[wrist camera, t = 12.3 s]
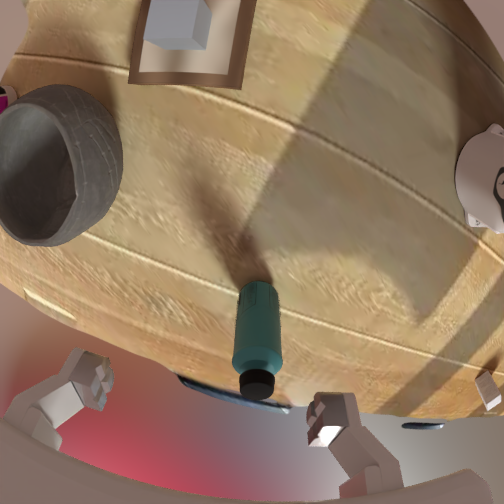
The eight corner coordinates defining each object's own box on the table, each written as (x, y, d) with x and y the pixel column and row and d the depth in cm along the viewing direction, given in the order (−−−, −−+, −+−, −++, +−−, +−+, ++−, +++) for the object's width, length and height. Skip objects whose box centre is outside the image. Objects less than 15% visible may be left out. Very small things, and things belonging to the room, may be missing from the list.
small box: (489, 378, 63) (501, 401, 54) (476, 388, 65) (487, 411, 56) (488, 369, 60) (501, 393, 51) (474, 379, 62) (486, 404, 53)
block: (212, 14, 25) (200, -6, 19) (205, 50, 27) (191, 37, 21) (171, 14, 25) (151, -3, 19) (165, 49, 27) (143, 39, 21)
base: (257, -2, 27) (256, -14, 23) (241, 90, 33) (238, 87, 30) (155, -3, 26) (144, -13, 22) (140, 84, 33) (126, 83, 29)
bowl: (46, 83, 31) (-21, 90, 18) (157, 90, 33) (101, 87, 20) (37, 201, 41) (-18, 238, 28) (135, 227, 43) (89, 279, 30)
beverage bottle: (236, 275, 47) (221, 376, 29) (278, 273, 46) (285, 375, 28) (241, 307, 50) (230, 407, 32) (280, 305, 49) (285, 406, 31)
